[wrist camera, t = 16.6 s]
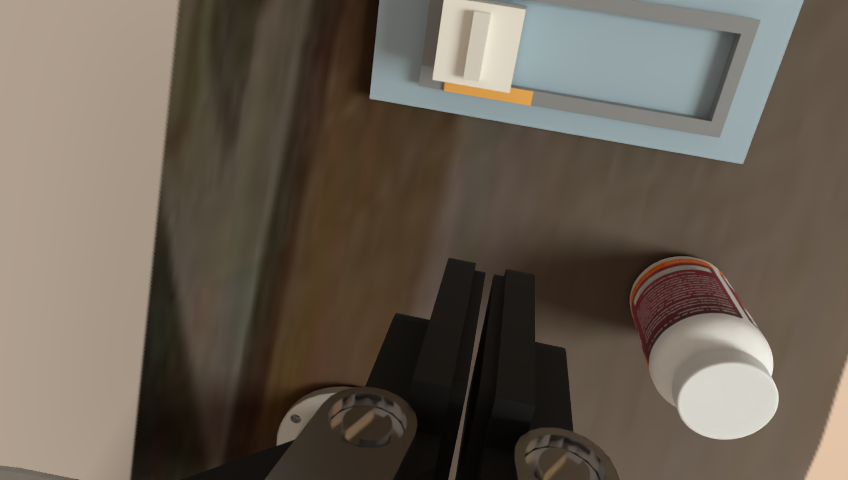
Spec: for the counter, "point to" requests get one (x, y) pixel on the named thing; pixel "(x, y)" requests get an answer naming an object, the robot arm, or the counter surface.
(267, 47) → the counter surface
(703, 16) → the switch bank
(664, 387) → the pill bottle
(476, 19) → the white block with handle
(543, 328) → the counter surface
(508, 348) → the robot arm
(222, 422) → the counter surface
